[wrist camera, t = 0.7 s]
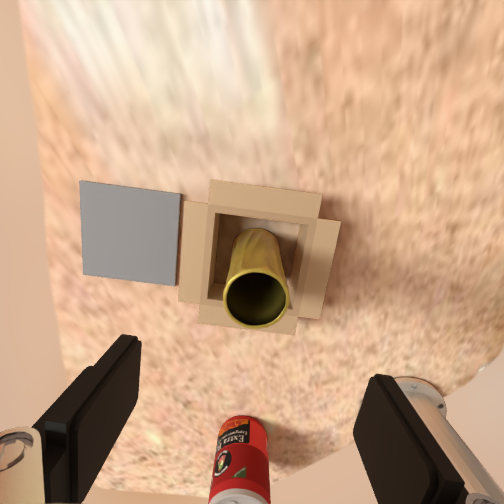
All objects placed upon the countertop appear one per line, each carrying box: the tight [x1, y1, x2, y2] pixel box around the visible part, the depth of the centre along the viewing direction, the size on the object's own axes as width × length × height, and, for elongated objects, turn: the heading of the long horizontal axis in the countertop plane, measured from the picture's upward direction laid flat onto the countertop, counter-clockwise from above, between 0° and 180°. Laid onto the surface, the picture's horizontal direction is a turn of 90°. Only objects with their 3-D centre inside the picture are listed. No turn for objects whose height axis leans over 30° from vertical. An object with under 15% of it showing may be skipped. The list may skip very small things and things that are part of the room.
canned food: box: [208, 416, 271, 504], centre depth 37 cm, size 8×8×11 cm
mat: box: [79, 181, 181, 286], centre depth 34 cm, size 12×12×1 cm
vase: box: [223, 228, 290, 329], centre depth 28 cm, size 6×6×14 cm
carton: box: [178, 179, 341, 335], centre depth 32 cm, size 17×17×5 cm
